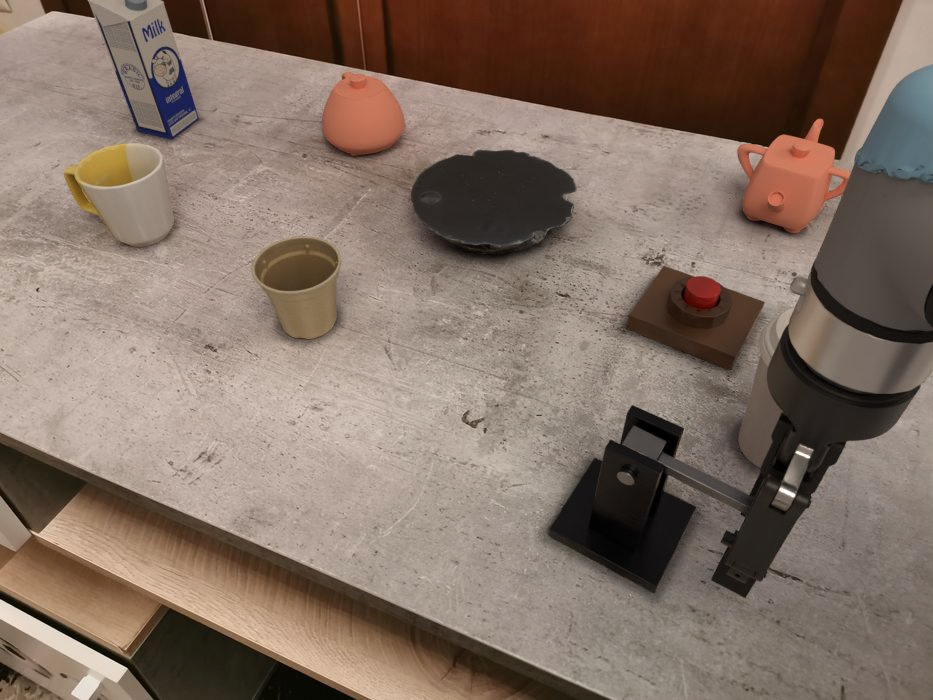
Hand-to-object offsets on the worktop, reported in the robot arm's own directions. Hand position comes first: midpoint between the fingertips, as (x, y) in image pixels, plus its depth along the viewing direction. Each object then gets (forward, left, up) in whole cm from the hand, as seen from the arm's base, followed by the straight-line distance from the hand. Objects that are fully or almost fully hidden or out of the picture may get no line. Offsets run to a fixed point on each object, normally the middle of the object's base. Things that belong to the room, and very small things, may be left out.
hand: (744, 550), depth 57 cm
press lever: (+5, 0, +5) cm, 7 cm away
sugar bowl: (+71, -40, -5) cm, 81 cm away
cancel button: (+14, -28, -1) cm, 31 cm away
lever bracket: (+10, 0, -5) cm, 11 cm away
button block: (+14, -28, -5) cm, 32 cm away
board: (+43, -32, -5) cm, 54 cm away
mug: (+82, -6, -5) cm, 82 cm away
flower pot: (+51, -5, -5) cm, 51 cm away
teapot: (+12, -54, -5) cm, 56 cm away
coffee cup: (+1, -16, -5) cm, 16 cm away
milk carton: (+100, -27, -5) cm, 103 cm away
